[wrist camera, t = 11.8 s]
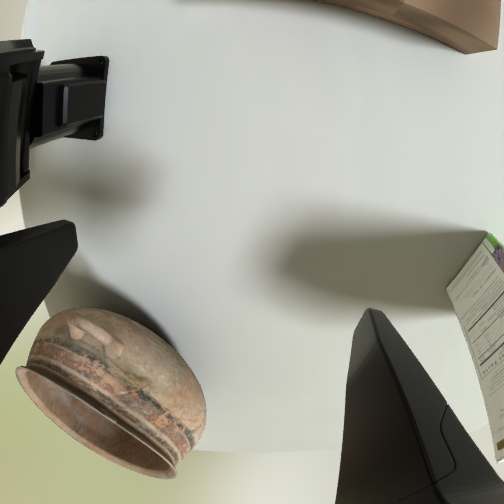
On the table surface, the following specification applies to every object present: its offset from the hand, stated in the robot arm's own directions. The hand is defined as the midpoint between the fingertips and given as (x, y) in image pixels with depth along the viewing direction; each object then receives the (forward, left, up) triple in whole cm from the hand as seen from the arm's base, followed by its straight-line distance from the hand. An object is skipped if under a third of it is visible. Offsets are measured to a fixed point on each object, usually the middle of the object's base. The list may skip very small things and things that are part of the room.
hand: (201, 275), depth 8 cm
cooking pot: (-10, -22, -12) cm, 27 cm away
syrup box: (+18, -3, -12) cm, 22 cm away
